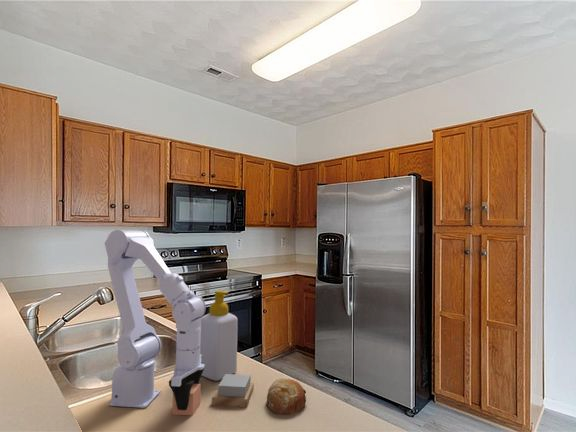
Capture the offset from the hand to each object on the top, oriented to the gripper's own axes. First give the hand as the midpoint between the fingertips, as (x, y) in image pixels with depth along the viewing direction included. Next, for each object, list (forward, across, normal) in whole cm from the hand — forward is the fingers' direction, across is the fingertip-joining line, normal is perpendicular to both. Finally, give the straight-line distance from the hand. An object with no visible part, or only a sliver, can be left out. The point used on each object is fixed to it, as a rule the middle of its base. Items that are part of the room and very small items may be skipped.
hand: (186, 403), depth 80 cm
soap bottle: (+2, +20, -2) cm, 20 cm away
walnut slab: (+2, +7, -10) cm, 12 cm away
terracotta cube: (+1, 0, 0) cm, 1 cm away
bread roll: (+2, +5, -24) cm, 25 cm away
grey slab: (0, +7, -10) cm, 12 cm away
